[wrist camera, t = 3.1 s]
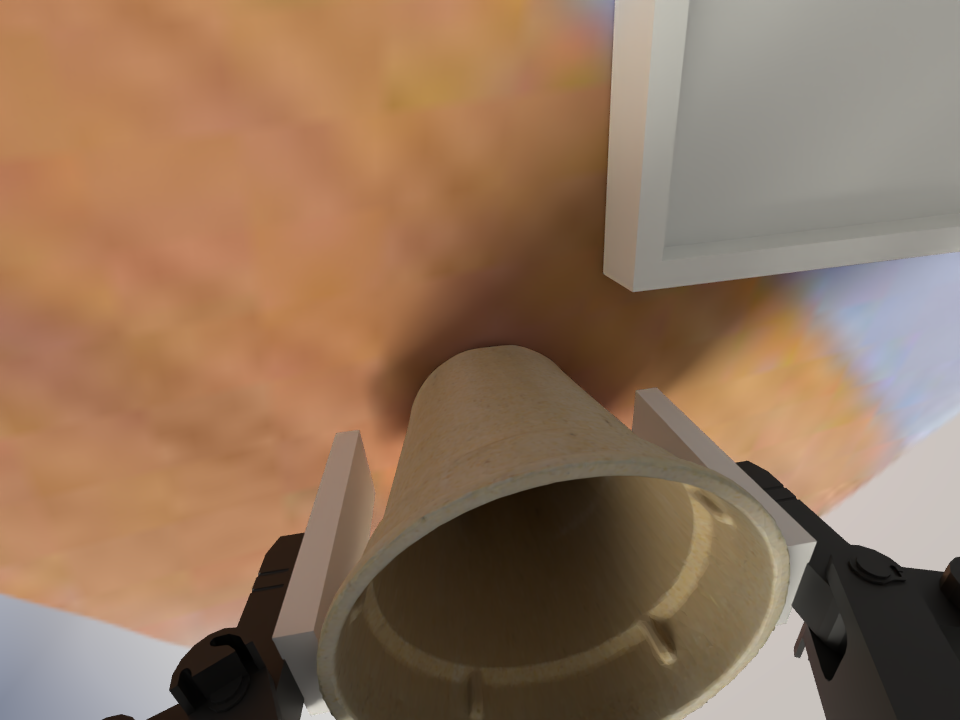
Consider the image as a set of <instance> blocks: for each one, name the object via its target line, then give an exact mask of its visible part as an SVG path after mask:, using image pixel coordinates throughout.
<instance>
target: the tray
mask: <svg viewBox="0 0 960 720" xmlns="http://www.w3.org/2000/svg"><path fill="white" fill-rule="evenodd" d="M953 252H960V0H615V13H614V36H613V59H612V82H611V104H610V127H609V150H608V173H607V196H606V218H605V241H604V264H603V274H604V275H606V276H607V277H609V278H611V279H612V280H614V281H616V282H617V283H619V284H620V285H622V286H624V287H625V288H627V289H628V290H630V291H632V292H638V291H646V290H654V289H663V288H671V287H679V286H687V285H695V284H703V283H711V282H719V281H727V280H735V279H743V278H751V277H759V276H767V275H775V274H783V273H791V272H800V271H808V270H816V269H824V268H832V267H840V266H848V265H856V264H864V263H872V262H880V261H888V260H896V259H904V258H912V257H920V256H928V255H937V254H945V253H953Z"/></svg>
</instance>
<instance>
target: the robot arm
mask: <svg viewBox="0 0 960 720" xmlns="http://www.w3.org/2000/svg"><path fill="white" fill-rule="evenodd" d="M632 432H633V433H635V434H636V435H637V436H638V437H639V438H641V439H644V440H646V441H648V442H651V443H653V444H655V445H657V446H659V447H661V448H663V449H665V450H667V451H669V452H670V453H672V454H674V455H675V456H677V457H678V458H680V459H684V460H687V461H691V462H694V463H696V464H699V465H702V466H704V467H707V468H709V469H712V470H714V471H716V472H718V473H720V474H722V475H724V476H726V477H728V478H729V479H731V480H733V481H734V482H736V483H737V484H738V485H740V486H741V487H742V488H744V489H745V490H746V491H747V492H749V493H750V494H751V495H752V496H753V497H754V498H755V499H756V500H757V501H758V502H760V503H761V504H762V506H763V507H764V508H765V509H766V510H767V511H768V512H769V513H770V515H771V516H772V517H773V518H774V519H775V521H776V524H777V526H778V527H779V529H780V530H781V533H782V535H783V537H784V538H785V541H786V544H787V548H788V551H789V556H790V560H789V563H790V578H789V581H790V584H789V586H788V595H787V597H786V603H785V606H784V608H783V611H782V614H781V615H780V619H779V620H778V622H777V623H776V625H775V626H777V625H782V624H786V623H787V620H788V617H789V615H790V612H791V609H792V607H793V608H794V609H795V611H796V612H797V613H798V614H799V615H800V617H801V618H802V619H803V620H804V624H803V626H802V629H801V631H800V634H799V636H798V639H797V641H796V643H795V646H794V656H795V657H798V658H800V657H801V655H802V652H803V650H804V647H806V651H807V654H808V660H809V661H810V664H811V668H812V671H813V675H814V678H815V682H816V685H817V689H818V692H819V696H820V699H821V702H822V706H823V710H824V713H825V716H826V720H960V557H956V558H954V559H953V560H952V561H951V562H950V563H949V565H948V566H947V568H946V570H945V572H939V571H932V570H923V569H914V568H905V567H901V566H900V565H898V564H897V563H896V562H894V561H893V560H892V559H891V558H889V557H887V556H885V555H883V554H881V553H879V552H877V551H875V550H873V549H869V548H866V547H863V546H859V545H850V544H849V543H848V542H846V541H845V540H844V539H843V538H842V537H841V536H840V535H838V534H837V533H836V532H835V531H834V530H833V529H832V528H831V527H829V526H828V525H827V524H826V523H825V522H824V521H823V520H822V519H821V518H819V517H818V516H817V515H816V514H815V513H814V512H813V511H812V510H810V509H809V508H808V507H807V506H806V505H805V504H804V503H803V502H802V501H800V500H797V499H796V496H795V495H794V494H793V493H791V492H790V491H789V490H788V489H787V488H784V487H783V484H781V483H780V482H779V481H778V480H777V479H776V478H775V477H774V476H772V475H771V474H770V473H769V472H768V471H766V470H764V469H762V468H761V467H759V466H757V465H755V464H753V463H751V462H749V461H743V462H737V463H735V462H734V461H733V460H732V459H731V458H730V457H729V456H727V455H726V454H725V453H724V452H723V451H722V450H721V449H720V448H719V447H718V446H717V445H716V444H715V443H714V442H713V441H712V440H711V439H710V438H709V437H708V436H707V435H706V434H705V433H704V432H702V431H701V430H700V429H699V428H698V427H697V426H696V425H695V424H694V423H693V422H692V421H691V420H690V419H689V418H688V417H687V416H686V415H685V414H684V413H683V412H682V411H681V410H680V409H679V408H677V407H676V406H675V405H674V404H673V403H672V402H671V401H670V400H669V399H668V398H667V397H666V396H665V395H664V394H663V393H662V392H661V391H660V390H659V389H658V388H657V387H656V388H649V389H642V390H636V391H635V403H634V414H633V425H632ZM374 501H375V489H374V485H373V481H372V477H371V473H370V469H369V465H368V461H367V458H366V454H365V450H364V446H363V442H362V438H361V434H360V430H355V431H348V432H341V433H336V435H335V438H334V441H333V444H332V447H331V451H330V454H329V457H328V460H327V463H326V467H325V470H324V473H323V476H322V480H321V483H320V486H319V489H318V492H317V496H316V499H315V502H314V505H313V508H312V512H311V515H310V518H309V521H308V524H307V528H306V531H305V533H300V534H293V535H287V536H281V537H280V538H279V539H278V540H277V541H276V542H275V544H274V545H273V546H272V547H271V549H270V550H269V551H268V552H267V553H266V555H265V558H264V560H263V563H262V565H261V568H260V570H259V573H258V577H257V578H256V580H255V583H254V585H253V588H252V593H250V596H249V598H248V601H247V603H246V606H245V608H244V611H243V613H242V616H241V618H240V621H239V623H238V626H237V627H236V628H224V629H222V630H219V631H217V632H215V633H212V634H210V635H208V636H207V637H205V638H204V639H203V640H201V641H200V642H198V643H197V644H196V645H194V646H193V647H192V648H191V650H190V651H189V652H188V653H187V654H186V655H185V656H184V657H183V658H182V659H181V661H180V663H179V665H178V666H177V668H176V670H175V671H174V673H173V675H172V679H171V684H170V689H169V691H170V692H171V693H172V695H173V696H174V697H175V699H176V700H177V702H178V703H179V704H177V705H175V706H173V707H171V708H169V709H167V710H165V711H163V712H161V713H159V714H157V715H155V716H153V717H151V718H149V719H147V720H300V717H301V712H302V708H303V703H304V704H305V706H306V708H307V710H308V712H309V714H310V715H315V714H321V713H326V712H330V711H329V709H328V707H327V705H326V703H325V701H324V700H323V698H322V694H321V692H320V691H319V683H318V676H317V650H318V642H319V638H320V634H321V629H322V626H323V623H324V620H325V617H326V614H327V612H328V609H329V607H330V605H331V603H332V601H333V598H334V596H335V594H336V593H337V591H338V589H339V588H340V586H341V585H342V583H343V581H344V580H345V578H346V577H347V575H348V574H349V573H350V571H351V570H352V569H353V568H354V566H355V565H356V564H357V563H358V562H359V560H360V559H361V558H362V555H363V552H364V550H365V548H366V546H367V543H368V541H369V537H370V530H371V523H372V515H373V508H374ZM103 720H134V719H133V717H130V716H126V715H123V714H120V715H116V716H111V717H107V718H105V719H103Z"/></svg>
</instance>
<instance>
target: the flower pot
mask: <svg viewBox="0 0 960 720" xmlns="http://www.w3.org/2000/svg"><path fill="white" fill-rule="evenodd" d="M789 560H790V556H789V551H788V548H787V544H786V541H785V538H784V537H783V535H782V533H781V530H780V529H779V527H778V526H777V524H776V521H775V519H774V518H773V517H772V516H771V515H770V513H769V512H768V511H767V510H766V509H765V508H764V507H763V506H762V504H761V503H760V502H758V501H757V500H756V499H755V498H754V497H753V496H752V495H751V494H750V493H749V492H747V491H746V490H745V489H744V488H742V487H741V486H740V485H738V484H737V483H736V482H734V481H733V480H731V479H729V478H728V477H726V476H724V475H722V474H720V473H718V472H716V471H714V470H712V469H709V468H707V467H704V466H702V465H699V464H696V463H694V462H691V461H687V460H684V459H680V458H678V457H677V456H675V455H674V454H672V453H670V452H669V451H667V450H665V449H663V448H661V447H659V446H657V445H655V444H653V443H651V442H648V441H646V440H644V439H641V438H639V437H638V436H637V435H636V434H635V433H633V432H632V431H631V430H630V429H629V428H628V427H627V426H625V425H624V424H623V423H622V422H621V421H620V420H618V419H617V418H616V417H615V416H614V415H612V414H611V413H610V412H609V411H608V410H606V409H605V408H604V407H603V406H602V405H601V404H599V403H598V402H597V401H596V400H595V399H594V398H592V397H591V396H590V395H589V394H588V393H587V392H585V391H584V390H583V389H582V388H581V387H580V386H578V385H577V384H576V383H575V382H574V381H573V380H572V379H571V378H570V377H569V376H567V375H566V374H565V373H564V372H563V371H562V370H561V369H560V368H559V367H558V366H557V365H556V364H555V363H554V362H553V361H552V360H550V359H549V358H547V357H545V356H544V355H542V354H540V353H538V352H536V351H533V350H531V349H528V348H525V347H521V346H516V345H504V346H494V347H484V348H477V349H471V350H467V351H464V352H462V353H459V354H457V355H455V356H453V357H452V358H450V359H449V360H447V361H446V362H444V363H443V364H442V365H440V366H439V367H438V368H437V369H436V370H434V371H433V372H432V373H431V374H430V375H429V377H428V378H427V379H426V381H425V382H424V383H423V385H422V386H421V388H420V390H419V391H418V394H417V396H416V398H415V400H414V403H413V406H412V409H411V414H410V420H409V424H408V428H407V432H406V436H405V440H404V444H403V447H402V451H401V455H400V459H399V462H398V466H397V470H396V473H395V477H394V481H393V484H392V488H391V492H390V495H389V499H388V503H387V506H386V510H385V513H384V517H383V519H382V520H381V522H380V523H379V525H378V526H377V528H376V529H375V531H374V533H373V534H372V536H371V538H370V539H369V541H368V543H367V546H366V548H365V550H364V552H363V555H362V558H361V559H360V560H359V562H358V563H357V564H356V565H355V566H354V568H353V569H352V570H351V571H350V573H349V574H348V575H347V577H346V578H345V580H344V581H343V583H342V585H341V586H340V588H339V589H338V591H337V593H336V594H335V596H334V598H333V601H332V603H331V605H330V607H329V609H328V612H327V614H326V617H325V620H324V623H323V626H322V629H321V634H320V638H319V642H318V650H317V676H318V683H319V691H320V692H321V694H322V698H323V700H324V701H325V703H326V705H327V707H328V709H329V711H330V713H331V715H333V716H334V717H335V719H336V720H682V719H684V718H685V717H686V716H687V715H688V714H690V713H692V712H694V711H695V710H697V709H699V708H701V707H702V706H703V705H704V704H705V703H707V701H708V700H709V699H710V698H712V697H714V696H715V695H716V694H717V693H718V692H719V691H720V690H721V689H722V688H724V687H725V686H726V685H728V684H729V683H730V682H731V681H732V680H733V679H735V677H736V676H737V675H738V674H739V673H740V672H741V671H742V670H743V669H744V668H745V667H746V665H747V664H748V663H749V662H750V661H751V660H752V659H753V658H754V657H755V656H756V655H757V654H758V651H759V649H761V648H762V647H763V646H764V644H765V643H766V641H767V639H768V638H769V636H770V634H771V632H772V631H774V629H775V625H776V623H777V622H778V620H779V619H780V615H781V614H782V611H783V608H784V606H785V603H786V597H787V595H788V586H789V584H790V581H789V578H790V563H789Z"/></svg>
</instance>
